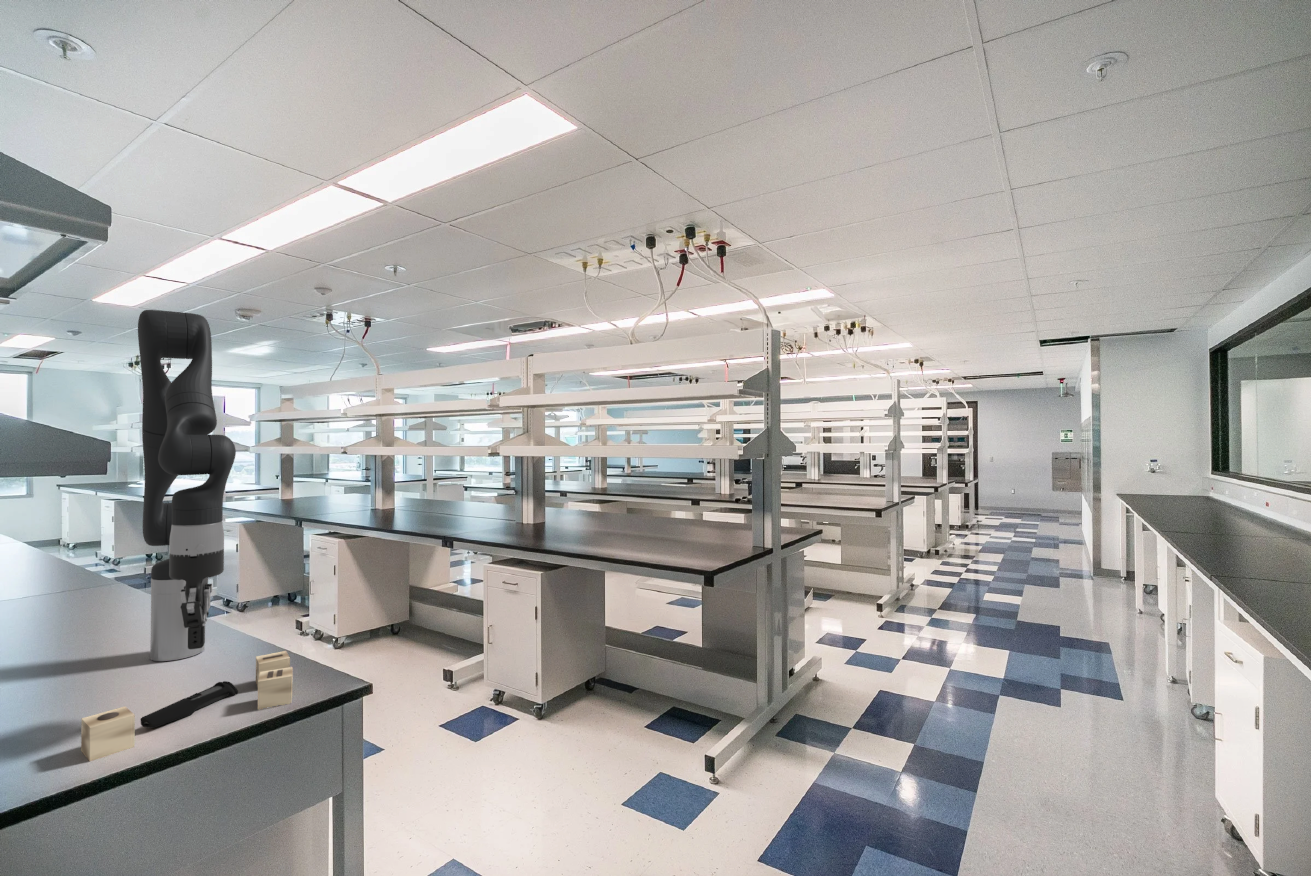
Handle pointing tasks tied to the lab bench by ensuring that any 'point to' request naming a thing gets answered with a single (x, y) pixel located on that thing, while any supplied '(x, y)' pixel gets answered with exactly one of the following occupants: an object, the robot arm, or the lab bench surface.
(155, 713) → the electric trimmer
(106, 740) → the maple block
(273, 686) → the maple block
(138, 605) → the lab bench surface
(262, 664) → the maple block
